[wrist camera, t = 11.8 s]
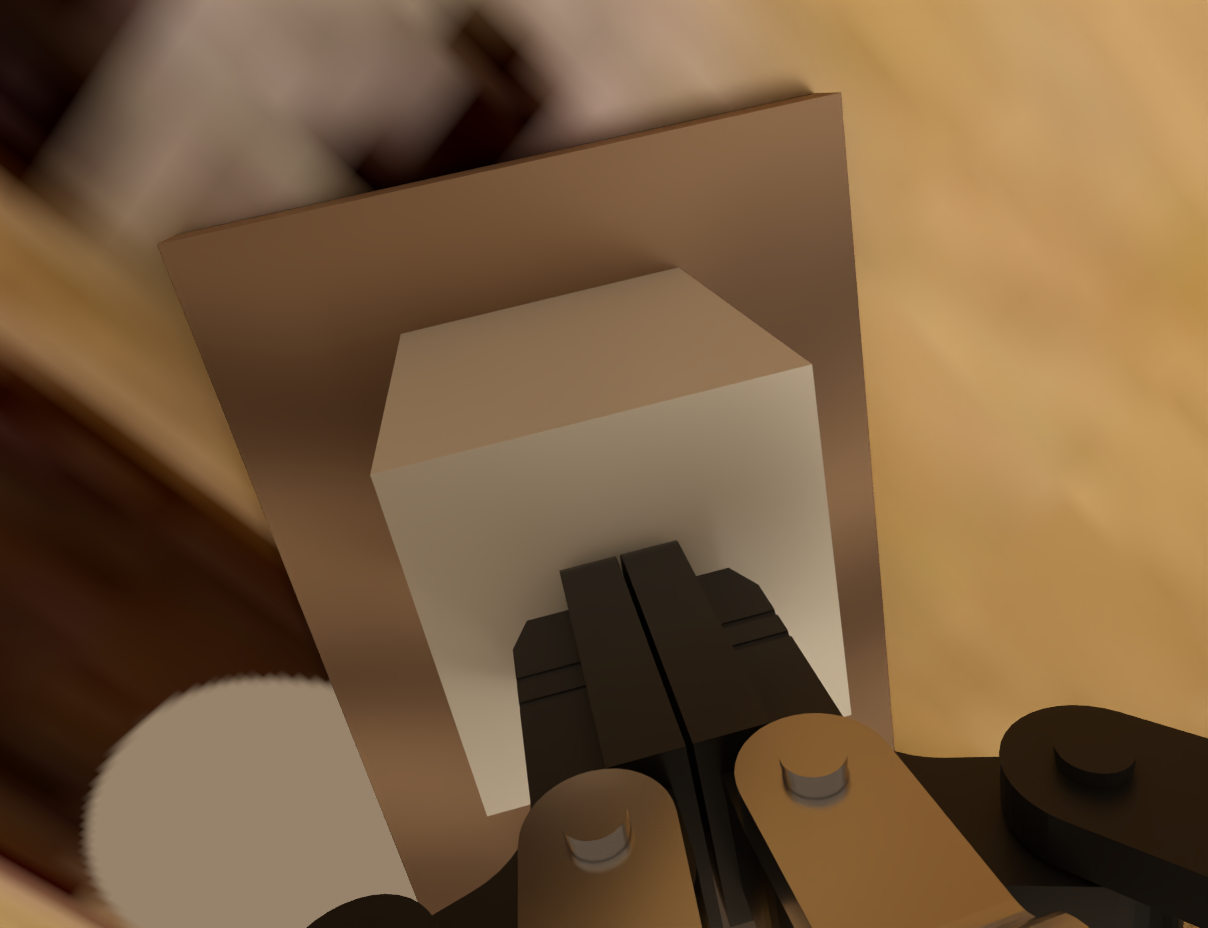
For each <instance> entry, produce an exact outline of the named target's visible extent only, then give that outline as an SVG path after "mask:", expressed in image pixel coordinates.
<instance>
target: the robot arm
mask: <svg viewBox="0 0 1208 928" xmlns="http://www.w3.org/2000/svg"><path fill="white" fill-rule="evenodd" d="M620 560H621V566H622V571H623V574H622V571H621V568H620V566H619V563H618V560H617V558H616V556H614V557H610V558H606V559H602V560H598V561H594V562H590V563H587V564H583V565H579V566H575V567H571V568H567V569H563V570H559V572H560V576H561V580H562V585H563V589H564V593H565V597H566V602H567V606H568V610H566V611H562V612H558V613H554V614H551V615H547V616H543V617H539V618H535V619H532V620H528V621H526V623H525V625H524V627H523V629H522V632H521V634H520V636H519V638H518V640H517V642H516V644H515V646H514V648H513V657H514V666H515V675H516V681H517V692H518V700H519V706H520V718H521V726H522V735H523V743H524V752H525V761H526V769H527V778H528V786H529V795H530V811H529V813H528V814H527V816H526V818H525V820H524V822H523V824H522V827H521V830H520V833H519V840H518V849H517V851H516V852H515V853H514V855H513V856H512V857H511V859H510V860H509V861H508V862H507V863H506V864H505V866H504V867H503V868H502V869H501V870H500V871H499V872H498V873H497V874H495V875H494V876H493V877H492V878H491V879H489V880H488V881H487V882H486V883H484V884H483V885H481V886H480V887H478V888H477V889H475V890H474V891H472V892H471V893H469V894H467V895H466V896H464V897H462V898H460V899H459V900H457V901H455V902H454V903H452V904H450V905H449V906H447V907H445V908H444V909H442V910H440V911H438V912H437V913H435V914H433V915H431V913H430V912H429V911H428V910H427V909H426V908H425V907H424V906H423V905H421V904H420V903H418V902H416V901H414V900H413V899H411V898H407V897H403V896H400V895H392V894H380V895H371V896H366V897H362V898H358V899H355V900H353V901H350V902H348V903H345V904H343V905H340V906H339V907H336V908H335V909H333V910H331V911H329V912H327V913H326V914H324V915H323V916H321V917H320V918H318V919H317V920H315V921H314V922H313V923H312V924H310V925H309V926H308V927H307V928H723V924H722V919H721V914H720V909H719V904H718V899H717V895H716V890H715V885H714V881H715V884H716V887H717V890H718V893H719V896H720V899H721V902H722V905H723V908H724V911H725V914H726V916H727V919H728V922H729V925H730V927H733V926H737V925H740V924H743V923H747V922H750V921H754V922H755V925H756V927H757V928H1183V922H1184V921H1185V922H1188V923H1190V924H1192V925H1195V926H1197V927H1199V928H1208V739H1207V738H1204V737H1201V736H1197V735H1194V734H1191V733H1187V732H1184V731H1181V730H1177V729H1174V728H1171V727H1167V726H1164V725H1161V724H1157V723H1154V722H1151V721H1147V720H1144V719H1141V718H1137V717H1134V716H1131V715H1127V714H1124V713H1121V712H1117V711H1113V710H1109V709H1105V708H1098V707H1092V706H1078V705H1068V706H1056V707H1050V708H1045V709H1041V710H1038V711H1035V712H1032V713H1030V714H1028V715H1026V716H1024V717H1022V718H1020V719H1019V720H1018V721H1016V722H1015V723H1014V724H1012V725H1011V726H1010V728H1009V729H1008V730H1007V731H1006V733H1005V734H1004V737H1003V739H1002V741H1001V745H1000V751H999V757H965V758H931V757H921V756H913V755H908V754H904V753H900V752H896V751H893V749H892V748H891V747H890V746H889V744H888V743H887V742H886V741H885V740H884V739H883V738H882V737H881V736H880V735H879V734H878V733H876V732H875V731H874V730H872V729H871V728H869V727H868V726H866V725H864V724H862V723H860V722H858V721H855V720H852V719H849V718H847V717H843V715H842V714H841V712H840V711H839V709H838V708H837V706H836V704H835V703H834V701H833V700H832V698H831V697H830V695H829V694H828V692H827V690H826V689H825V687H824V686H823V684H822V683H821V681H820V680H819V678H818V676H817V675H816V673H815V672H814V670H813V669H812V667H811V666H810V664H809V662H808V661H807V659H806V658H805V656H804V655H803V653H802V651H801V650H800V648H799V647H798V645H797V644H796V642H795V641H794V639H793V637H792V636H789V633H788V630H787V628H786V627H785V625H784V623H783V622H782V620H781V619H780V617H779V616H778V615H776V613H775V609H774V608H773V606H772V605H771V603H770V602H769V600H768V599H767V597H766V595H765V594H764V592H763V591H762V589H761V588H760V586H759V585H758V584H757V583H755V582H753V581H751V580H750V579H748V578H746V577H744V576H742V575H741V574H739V573H737V572H735V571H734V570H732V569H730V568H725V569H721V570H718V571H714V572H710V573H706V574H702V575H699V576H696V575H695V573H694V571H693V569H692V567H691V565H690V563H689V562H688V560H687V558H686V556H685V554H684V552H683V550H682V548H681V546H680V544H679V543H678V541H677V540H675V541H671V542H667V543H663V544H659V545H655V546H651V547H648V548H644V549H640V550H636V551H632V552H628V553H624V554H621V555H620ZM623 576H624V577H623ZM713 878H714V880H713Z"/></svg>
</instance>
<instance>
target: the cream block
mask: <svg viewBox="0 0 1208 928" xmlns="http://www.w3.org/2000/svg"><path fill="white" fill-rule="evenodd" d="M370 476H371V479H372V482H373V484H374V487H375V490H376V493H377V496H378V499H379V502H380V505H381V508H382V511H383V514H384V517H385V519H386V522H387V525H388V528H389V531H390V534H391V537H392V540H393V543H394V546H395V549H396V552H397V554H398V557H399V560H400V563H401V566H402V569H403V572H404V575H405V578H406V581H407V584H408V587H409V589H410V592H411V595H412V598H413V601H414V604H415V607H416V610H417V613H418V616H419V619H420V622H421V624H422V627H423V630H424V633H425V636H426V639H427V642H428V645H429V648H430V651H431V654H432V657H433V659H434V662H435V665H436V668H437V671H438V674H439V677H440V680H441V683H442V686H443V689H444V692H445V695H446V697H447V700H448V703H449V706H450V709H451V712H452V715H453V718H454V721H455V724H456V727H457V730H458V732H459V735H460V738H461V741H462V744H463V747H464V750H465V753H466V756H467V759H468V762H469V765H470V767H471V770H472V773H473V776H474V779H475V782H476V785H477V788H478V791H479V794H480V797H481V800H482V802H483V805H484V808H485V811H486V814H487V816H491V815H494V814H498V813H501V812H505V811H509V810H512V809H516V808H519V807H523V806H527V805H530V795H529V786H528V778H527V769H526V761H525V752H524V743H523V735H522V726H521V718H520V706H519V700H518V692H517V681H516V675H515V666H514V657H513V648H514V646H515V644H516V642H517V640H518V638H519V636H520V634H521V632H522V629H523V627H524V625H525V623H526V621H528V620H532V619H535V618H539V617H543V616H547V615H551V614H554V613H558V612H562V611H566V610H568V606H567V602H566V597H565V593H564V589H563V585H562V580H561V576H560V572H559V570H563V569H567V568H571V567H575V566H579V565H583V564H587V563H590V562H594V561H598V560H602V559H606V558H610V557H614V556H616V558H617V560H618V563H619V566H620V568H621V571H622V566H621V560H620V555H621V554H624V553H628V552H632V551H636V550H640V549H644V548H648V547H651V546H655V545H659V544H663V543H667V542H671V541H675V540H677V541H678V543H679V544H680V546H681V548H682V550H683V552H684V554H685V556H686V558H687V560H688V562H689V563H690V565H691V567H692V569H693V571H694V573H695V575H696V576H699V575H702V574H706V573H710V572H714V571H718V570H721V569H725V568H730V569H732V570H734V571H735V572H737V573H739V574H741V575H742V576H744V577H746V578H748V579H750V580H751V581H753V582H755V583H757V584H758V585H759V586H760V588H761V589H762V591H763V592H764V594H765V595H766V597H767V599H768V600H769V602H770V603H771V605H772V606H773V608H774V609H775V613H776V615H778V616H779V617H780V619H781V620H782V622H783V623H784V625H785V627H786V628H787V630H788V633H789V636H792V637H793V639H794V641H795V642H796V644H797V645H798V647H799V648H800V650H801V651H802V653H803V655H804V656H805V658H806V659H807V661H808V662H809V664H810V666H811V667H812V669H813V670H814V672H815V673H816V675H817V676H818V678H819V680H820V681H821V683H822V684H823V686H824V687H825V689H826V690H827V692H828V694H829V695H830V697H831V698H832V700H833V701H834V703H835V704H836V706H837V708H838V709H839V711H840V712H841V714H842V715H843V717H846V716H849V715H851V706H850V697H849V689H848V680H847V671H846V662H845V653H844V644H843V635H842V626H841V617H840V608H839V599H838V591H837V582H836V573H835V564H834V555H833V546H832V537H831V528H830V519H829V510H828V501H827V493H826V484H825V475H824V466H823V457H822V448H821V439H820V430H819V421H818V412H817V403H816V394H815V386H814V377H813V368H812V364H811V363H810V362H808V361H807V360H806V359H804V358H803V357H801V356H800V355H799V354H797V353H796V352H794V351H793V350H792V349H790V348H789V347H788V346H786V345H785V344H783V343H782V342H781V341H779V340H778V339H777V338H775V337H774V336H772V335H771V334H770V333H768V332H767V331H766V330H764V329H763V328H761V327H760V326H759V325H757V324H756V323H754V322H753V321H752V320H750V319H749V318H748V317H746V316H745V315H743V314H742V313H741V312H739V311H738V310H737V309H735V308H734V307H732V306H731V305H730V304H728V303H727V302H726V301H724V300H723V299H721V298H720V297H719V296H717V295H716V294H714V293H713V292H712V291H710V290H709V289H708V288H706V287H705V286H703V285H702V284H701V283H699V282H698V281H697V280H695V279H694V278H692V277H691V276H690V275H688V274H687V273H685V272H684V271H683V270H681V269H680V268H679V267H678V268H674V269H669V270H665V271H661V272H657V273H653V274H649V275H644V276H640V277H636V278H632V279H628V280H624V281H619V282H615V283H611V284H607V285H603V286H599V287H594V288H590V289H586V290H582V291H578V292H574V293H569V294H565V295H561V296H557V297H553V298H549V299H544V300H540V301H536V302H532V303H528V304H524V305H519V306H515V307H511V308H507V309H503V310H498V311H494V312H490V313H486V314H482V315H478V316H473V317H469V318H465V319H461V320H457V321H453V322H448V323H444V324H440V325H436V326H432V327H428V328H423V329H419V330H415V331H411V332H407V333H403V334H401V335H400V340H399V345H398V349H397V354H396V358H395V363H394V368H393V372H392V377H391V381H390V386H389V391H388V395H387V400H386V404H385V409H384V414H383V418H382V423H381V427H380V432H379V437H378V441H377V446H376V450H375V455H374V460H373V464H372V469H371V473H370ZM622 574H623V571H622ZM623 577H624V576H623Z"/></svg>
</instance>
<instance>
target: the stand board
mask: <svg viewBox="0 0 1208 928" xmlns="http://www.w3.org/2000/svg"><path fill="white" fill-rule="evenodd" d="M157 246H158V248H159V251H160V253H161V256H162V258H163V261H164V263H165V266H166V268H167V271H168V273H169V276H170V278H171V281H172V283H173V286H174V288H175V291H176V293H177V296H178V298H179V301H180V304H181V306H182V309H183V311H184V314H185V316H186V319H187V321H188V324H189V326H190V329H191V331H192V334H193V336H194V339H195V341H196V344H197V346H198V349H199V351H200V354H201V356H202V359H203V361H204V364H205V366H206V369H207V372H208V374H209V377H210V379H211V382H212V384H213V387H214V389H215V392H216V394H217V397H218V399H219V402H220V404H221V407H222V409H223V412H224V414H225V417H226V419H227V422H228V424H229V427H230V429H231V432H232V434H233V437H234V440H235V442H236V445H237V447H238V450H239V452H240V455H241V457H242V460H243V462H244V465H245V467H246V470H247V472H248V475H249V477H250V480H251V482H252V485H253V487H254V490H255V492H256V495H257V497H258V500H259V503H260V505H261V508H262V510H263V513H264V515H265V518H266V520H267V523H268V525H269V528H270V530H271V533H272V535H273V538H274V540H275V543H276V545H277V548H278V550H279V553H280V555H281V558H282V560H283V563H284V565H285V568H286V571H287V573H288V576H289V578H290V581H291V583H292V586H293V588H294V591H295V593H296V596H297V598H298V601H299V603H300V606H301V608H302V611H303V613H304V616H305V618H306V621H307V623H308V626H309V628H310V631H311V633H312V636H313V639H314V641H315V644H316V646H317V649H318V651H319V654H320V656H321V659H322V661H323V664H324V666H325V669H326V671H327V674H328V676H329V679H330V681H331V684H332V686H333V689H334V691H335V694H336V696H337V699H338V701H339V704H340V706H341V709H342V711H343V714H344V717H345V719H346V721H347V724H348V727H349V729H350V732H351V734H352V737H353V739H354V741H355V744H356V747H357V749H358V752H359V754H360V757H361V759H362V762H363V764H364V767H365V769H366V772H367V774H368V777H369V780H370V782H371V784H372V787H373V790H374V792H375V795H376V797H377V800H378V802H379V805H380V807H381V810H382V812H383V815H384V817H385V820H386V822H387V825H388V827H389V830H390V832H391V835H392V837H393V840H394V842H395V845H396V848H397V850H398V853H399V855H400V858H401V860H402V863H403V865H404V867H405V870H406V873H407V875H408V878H409V880H410V883H411V885H412V888H413V890H414V893H415V895H416V898H417V900H418V903H420V904H421V905H423V906H424V907H425V908H426V909H427V910H428V911H429V912H430V913H431V915H433V914H435V913H437V912H438V911H440V910H442V909H444V908H445V907H447V906H449V905H450V904H452V903H454V902H455V901H457V900H459V899H460V898H462V897H464V896H466V895H467V894H469V893H471V892H472V891H474V890H475V889H477V888H478V887H480V886H481V885H483V884H484V883H486V882H487V881H488V880H489V879H491V878H492V877H493V876H494V875H495V874H497V873H498V872H499V871H500V870H501V869H502V868H503V867H504V866H505V864H506V863H507V862H508V861H509V860H510V859H511V857H512V856H513V855H514V853H515V852H516V851H517V849H518V840H519V833H520V830H521V827H522V824H523V822H524V820H525V818H526V816H527V814H528V813H529V811H530V805H527V806H523V807H519V808H516V809H512V810H509V811H505V812H501V813H498V814H494V815H491V816H487V814H486V811H485V808H484V805H483V802H482V800H481V797H480V794H479V791H478V788H477V785H476V782H475V779H474V776H473V773H472V770H471V767H470V765H469V762H468V759H467V756H466V753H465V750H464V747H463V744H462V741H461V738H460V735H459V732H458V730H457V727H456V724H455V721H454V718H453V715H452V712H451V709H450V706H449V703H448V700H447V697H446V695H445V692H444V689H443V686H442V683H441V680H440V677H439V674H438V671H437V668H436V665H435V662H434V659H433V657H432V654H431V651H430V648H429V645H428V642H427V639H426V636H425V633H424V630H423V627H422V624H421V622H420V619H419V616H418V613H417V610H416V607H415V604H414V601H413V598H412V595H411V592H410V589H409V587H408V584H407V581H406V578H405V575H404V572H403V569H402V566H401V563H400V560H399V557H398V554H397V552H396V549H395V546H394V543H393V540H392V537H391V534H390V531H389V528H388V525H387V522H386V519H385V517H384V514H383V511H382V508H381V505H380V502H379V499H378V496H377V493H376V490H375V487H374V484H373V482H372V479H371V476H370V473H371V469H372V464H373V460H374V455H375V450H376V446H377V441H378V437H379V432H380V427H381V423H382V418H383V414H384V409H385V404H386V400H387V395H388V391H389V386H390V381H391V377H392V372H393V368H394V363H395V358H396V354H397V349H398V345H399V340H400V335H401V334H403V333H407V332H411V331H415V330H419V329H423V328H428V327H432V326H436V325H440V324H444V323H448V322H453V321H457V320H461V319H465V318H469V317H473V316H478V315H482V314H486V313H490V312H494V311H498V310H503V309H507V308H511V307H515V306H519V305H524V304H528V303H532V302H536V301H540V300H544V299H549V298H553V297H557V296H561V295H565V294H569V293H574V292H578V291H582V290H586V289H590V288H594V287H599V286H603V285H607V284H611V283H615V282H619V281H624V280H628V279H632V278H636V277H640V276H644V275H649V274H653V273H657V272H661V271H665V270H669V269H674V268H678V267H679V268H680V269H681V270H683V271H684V272H685V273H687V274H688V275H690V276H691V277H692V278H694V279H695V280H697V281H698V282H699V283H701V284H702V285H703V286H705V287H706V288H708V289H709V290H710V291H712V292H713V293H714V294H716V295H717V296H719V297H720V298H721V299H723V300H724V301H726V302H727V303H728V304H730V305H731V306H732V307H734V308H735V309H737V310H738V311H739V312H741V313H742V314H743V315H745V316H746V317H748V318H749V319H750V320H752V321H753V322H754V323H756V324H757V325H759V326H760V327H761V328H763V329H764V330H766V331H767V332H768V333H770V334H771V335H772V336H774V337H775V338H777V339H778V340H779V341H781V342H782V343H783V344H785V345H786V346H788V347H789V348H790V349H792V350H793V351H794V352H796V353H797V354H799V355H800V356H801V357H803V358H804V359H806V360H807V361H808V362H810V363H811V364H812V368H813V377H814V386H815V394H816V403H817V412H818V421H819V430H820V439H821V448H822V457H823V466H824V475H825V484H826V493H827V501H828V510H829V519H830V528H831V537H832V546H833V555H834V564H835V573H836V582H837V591H838V599H839V608H840V617H841V626H842V635H843V644H844V653H845V662H846V671H847V680H848V689H849V697H850V706H851V715H849V716H846V717H847V718H849V719H852V720H855V721H858V722H860V723H862V724H864V725H866V726H868V727H869V728H871V729H872V730H874V731H875V732H876V733H878V734H879V735H880V736H881V737H882V738H883V739H884V740H885V741H886V742H887V743H888V744H889V746H890V747H891V748H892V749H893V751H895V750H894V738H893V725H892V713H891V701H890V688H889V676H888V664H887V652H886V639H885V627H884V615H883V603H882V590H881V578H880V566H879V553H878V541H877V529H876V517H875V504H874V492H873V480H872V467H871V455H870V443H869V431H868V418H867V406H866V394H865V382H864V369H863V357H862V345H861V332H860V320H859V308H858V296H857V283H856V271H855V259H854V246H853V234H852V222H851V210H850V197H849V185H848V173H847V160H846V148H845V136H844V124H843V111H842V99H841V93H814V94H809V95H805V96H800V97H796V98H791V99H787V100H782V101H778V102H773V103H769V104H764V105H760V106H755V107H751V108H746V109H742V110H737V111H733V112H728V113H724V114H719V115H715V116H710V117H706V118H701V119H697V120H692V121H688V122H683V123H679V124H674V125H670V126H665V127H661V128H656V129H651V130H647V131H642V132H638V133H633V134H629V135H624V136H620V137H615V138H611V139H606V140H602V141H597V142H593V143H588V144H584V145H579V146H575V147H570V148H566V149H561V150H557V151H552V152H548V153H543V154H539V155H534V156H530V157H525V158H521V159H516V160H512V161H507V162H503V163H498V164H494V165H489V166H485V167H480V168H476V169H471V170H467V171H462V172H457V173H453V174H448V175H444V176H439V177H435V178H430V179H426V180H421V181H417V182H412V183H408V184H403V185H399V186H394V187H390V188H385V189H381V190H376V191H372V192H367V193H363V194H358V195H354V196H349V197H345V198H340V199H336V200H331V201H327V202H322V203H318V204H313V205H309V206H304V207H300V208H295V209H291V210H286V211H282V212H277V213H272V214H268V215H263V216H259V217H254V218H250V219H245V220H241V221H236V222H232V223H227V224H223V225H218V226H214V227H209V228H205V229H200V230H196V231H191V232H187V233H182V234H178V235H175V236H173V237H171V238H169V239H167V240H165V241H163V242H161V243H159V244H157Z"/></svg>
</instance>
